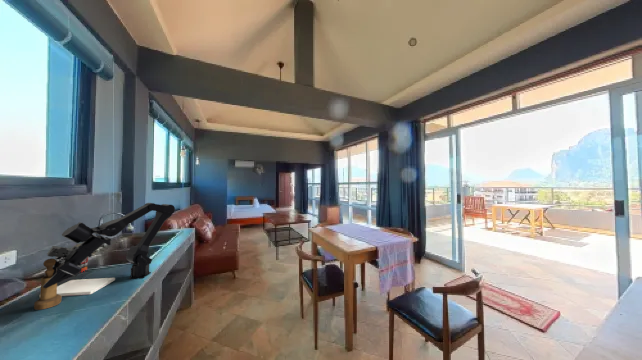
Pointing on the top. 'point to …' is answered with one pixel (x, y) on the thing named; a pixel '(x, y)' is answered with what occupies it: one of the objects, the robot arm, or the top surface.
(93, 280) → the tile
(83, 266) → the canned food
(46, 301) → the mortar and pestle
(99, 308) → the top surface
